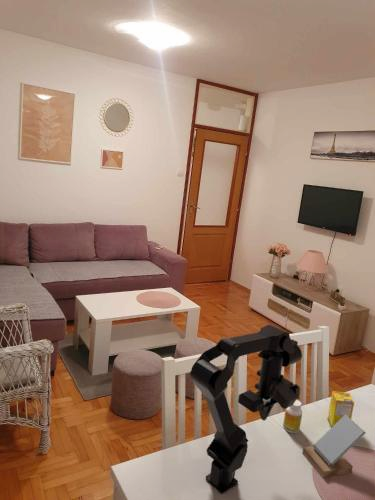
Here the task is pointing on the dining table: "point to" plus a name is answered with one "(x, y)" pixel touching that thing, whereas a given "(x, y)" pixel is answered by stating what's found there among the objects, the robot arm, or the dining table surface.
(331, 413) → the supplement box
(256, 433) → the dining table surface
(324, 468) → the ticket block
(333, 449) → the grey rectangular panel
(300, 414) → the supplement bottle
